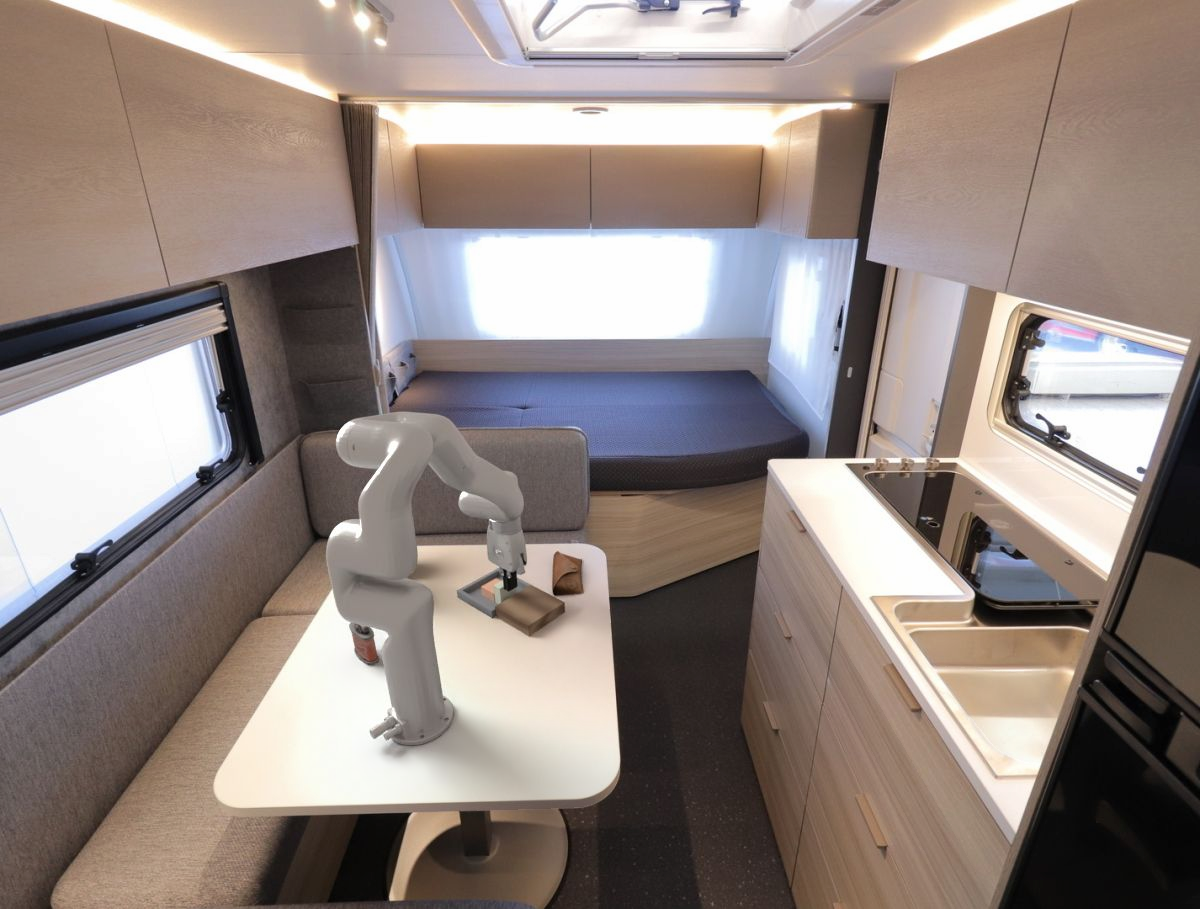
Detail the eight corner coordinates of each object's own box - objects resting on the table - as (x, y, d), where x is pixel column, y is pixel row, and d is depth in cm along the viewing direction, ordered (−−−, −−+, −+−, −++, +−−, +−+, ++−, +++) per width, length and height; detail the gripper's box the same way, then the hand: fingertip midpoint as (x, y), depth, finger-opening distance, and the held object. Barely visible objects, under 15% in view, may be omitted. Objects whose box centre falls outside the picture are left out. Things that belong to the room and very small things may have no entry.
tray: (492, 618, 151) (491, 611, 150) (457, 597, 159) (456, 590, 159) (534, 592, 160) (533, 586, 160) (499, 574, 169) (498, 567, 168)
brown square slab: (529, 636, 144) (528, 625, 143) (496, 616, 151) (495, 606, 150) (565, 612, 152) (564, 602, 151) (532, 594, 159) (531, 584, 158)
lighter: (382, 660, 137) (375, 623, 134) (368, 668, 135) (360, 630, 132) (365, 644, 143) (357, 608, 139) (351, 652, 140) (343, 615, 137)
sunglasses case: (585, 594, 159) (571, 575, 157) (563, 607, 160) (548, 589, 158) (583, 558, 176) (570, 541, 173) (562, 570, 177) (549, 553, 174)
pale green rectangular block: (499, 588, 153) (493, 585, 154) (501, 605, 155) (495, 602, 156) (515, 580, 156) (508, 576, 158) (516, 596, 158) (510, 593, 160)
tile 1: (481, 586, 158) (482, 594, 159) (493, 593, 155) (494, 601, 156) (496, 578, 162) (497, 586, 163) (508, 584, 159) (509, 593, 160)
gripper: (472, 519, 149) (479, 584, 155) (513, 537, 140) (519, 606, 146) (497, 508, 154) (502, 572, 161) (538, 525, 145) (542, 592, 151)
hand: (510, 588), depth 153 cm, fingers closed
